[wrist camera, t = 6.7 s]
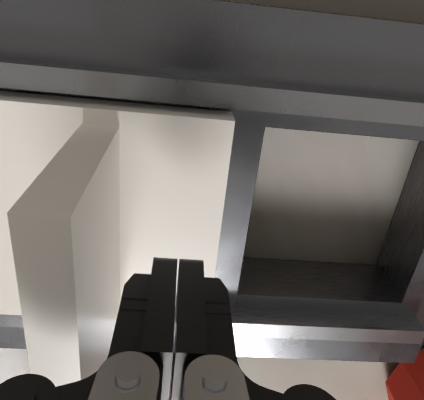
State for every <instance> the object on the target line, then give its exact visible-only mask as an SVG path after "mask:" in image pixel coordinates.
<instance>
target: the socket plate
mask: <svg viewBox="0 0 424 400" xmlns="http://www.w3.org/2000/svg"><path fill="white" fill-rule="evenodd" d="M0 91H9V92H20V93H31V94H42V95H53V96H64V97H75V98H86V99H97V100H108V101H119V102H130V103H141V104H152V105H163V106H174V107H184V108H195V109H206V110H217V111H228V112H232V113H233V116H234V119H235V126H234V134H233V141H232V149H231V156H230V164H229V172H228V179H227V187H226V194H225V202H224V209H223V217H222V224H221V232H220V240H219V247H218V255H217V262H216V270H215V277H214V278H220V279H221V281H222V282H223V283H224V285H225V286H226V288H227V289H228V293H229V301H230V309H231V317H232V325H233V333H234V341H235V349H236V357H261V358H288V359H314V360H341V361H368V362H395V363H414V362H415V360H416V358H417V355H418V353H419V351H420V349H421V347H422V345H423V343H424V24H419V23H411V22H402V21H393V20H385V19H376V18H367V17H359V16H350V15H341V14H333V13H324V12H315V11H307V10H298V9H289V8H281V7H272V6H263V5H255V4H246V3H237V2H229V1H220V0H0ZM265 127H272V128H284V129H295V130H306V131H317V132H329V133H340V134H351V135H363V136H374V137H385V138H397V139H408V140H419V141H420V142H419V145H418V148H417V151H416V154H415V156H414V159H413V162H412V165H411V168H410V171H409V173H408V176H407V179H406V182H405V185H404V188H403V191H402V193H401V196H400V199H399V202H398V205H397V208H396V210H395V213H394V216H393V219H392V222H391V225H390V227H389V230H388V233H387V236H386V239H385V242H384V245H383V247H382V250H381V253H380V256H379V259H378V262H377V264H376V265H361V264H344V263H327V262H310V261H293V260H277V259H260V258H243V255H244V249H245V243H246V237H247V231H248V225H249V219H250V213H251V207H252V201H253V195H254V189H255V184H256V178H257V172H258V166H259V160H260V154H261V148H262V142H263V136H264V130H265ZM0 348H18V349H27V348H26V341H25V334H24V327H23V320H22V315H6V314H0Z"/></svg>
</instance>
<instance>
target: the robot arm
mask: <svg viewBox="0 0 424 400" xmlns="http://www.w3.org/2000/svg"><path fill="white" fill-rule="evenodd" d="M177 260H178V259H173V258H157V257H154V258H153V265H152V272H151V274H138V273H134V274H133V275H132V276H131V277H130V279H129V280H128V281H127V282H126V283H125V284H124V288H123V293H122V297H121V302H120V306H119V312H118V315H117V319H116V324H115V328H114V333H113V337H112V341H111V346H110V350H109V354H108V357H107V359H106V360H105V361H104V362H103V363H102V365H101V366H100V368H99V369H98V371H96V372H95V373H94V374H92V375H91V376H89V377H87V378H85V379H82V380H80V381H76V382H73V383H69V384H65V385H61V386H57V387H55V385H54V384H53V382H52V381H51V380H50V379H48V378H47V377H44V376H42V375H38V374H24V375H19V376H16V377H13V378H10V379H8V380H6V381H5V382H3V383H1V384H0V400H169V391H170V380H171V369H172V380H171V400H336V399H335V398H334V397H332V396H331V395H330V394H329V393H327V392H326V391H324V390H322V389H321V388H318V387H316V386H312V385H307V384H299V385H295V386H292V387H290V388H289V389H287V390H286V391H285V392H284V394H282V393H279V392H276V391H273V390H270V389H267V388H264V387H262V386H259V385H258V384H256V383H254V382H253V381H251V380H250V379H249V378H248V377H247V376H246V375H245V374H244V373H243V372H242V370H241V369H240V367H239V364H238V362H237V357H236V349H235V341H234V333H233V325H232V317H231V309H230V301H229V293H228V289H227V288H226V286H225V285H224V283H223V282H222V281H221V279H220V278H210V277H204V262H203V260H191V259H179V269H178V281H177ZM176 281H177V292H176ZM175 301H176V304H175ZM172 358H173V360H172Z"/></svg>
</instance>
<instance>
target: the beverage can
mask: <svg viewBox="0 0 424 400" xmlns="http://www.w3.org/2000/svg"><path fill="white" fill-rule="evenodd" d="M386 387H387V393H388V398H389V400H424V348H423V349H420V351H419V353H418V355H417V358H416V360H415V362H414V363H399V364H398V366H397V367H396V368H395V370H394V371H393V372H392V374H391V375H390V377H389V378H388V379H387V381H386Z"/></svg>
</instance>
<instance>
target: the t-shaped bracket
mask: <svg viewBox="0 0 424 400" xmlns="http://www.w3.org/2000/svg"><path fill="white" fill-rule="evenodd" d="M234 126H235V119H234V116H233V113H232V112H228V111H217V110H206V109H195V108H184V107H174V106H163V105H152V104H141V103H130V102H119V101H108V100H97V99H86V98H75V97H64V96H53V95H42V94H31V93H20V92H9V91H0V314H6V315H22V320H23V327H24V334H25V341H26V348H27V355H28V362H29V369H30V374H38V375H42V376H44V377H47V378H48V379H50V380H51V381H52V382H53V384H54V385H55V387H57V386H61V385H65V384H69V383H73V382H76V381H80V380H82V379H85V378H87V377H89V376H91V375H92V374H94V373H95V372H96V371H98V369H99V368H100V366H101V365H102V363H103V362H104V361H105V360H106V359H107V357H108V354H109V350H110V346H111V341H112V337H113V333H114V328H115V324H116V319H117V315H118V312H119V306H120V302H121V297H122V293H123V288H124V284H125V283H126V282H127V281H128V280H129V279H130V277H131V276H132V275H133V274H134V273H138V274H151V272H152V265H153V258H154V257H157V258H173V259H178V260H177V281H178V269H179V259H191V260H203V262H204V277H210V278H214V277H215V270H216V262H217V255H218V247H219V240H220V232H221V224H222V217H223V209H224V202H225V194H226V187H227V179H228V172H229V164H230V156H231V149H232V141H233V134H234ZM177 281H176V292H177ZM175 304H176V301H175Z"/></svg>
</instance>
